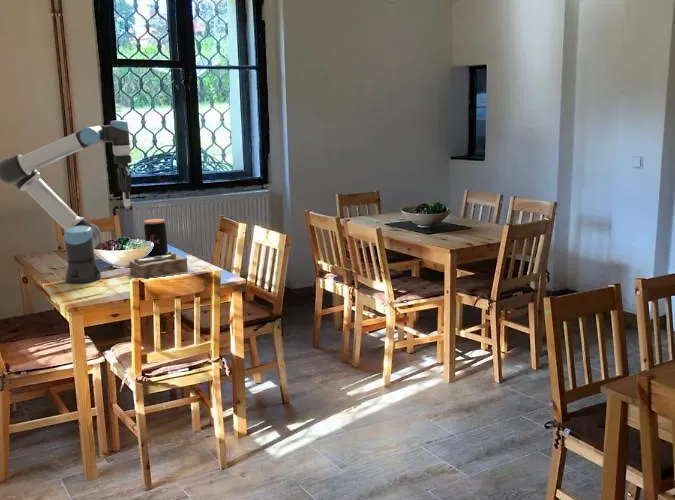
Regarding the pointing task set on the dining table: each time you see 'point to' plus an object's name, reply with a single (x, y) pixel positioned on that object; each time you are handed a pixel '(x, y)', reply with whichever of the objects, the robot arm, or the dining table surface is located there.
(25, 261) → the dining table surface
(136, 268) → the walnut box
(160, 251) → the coffee jar
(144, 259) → the strap
